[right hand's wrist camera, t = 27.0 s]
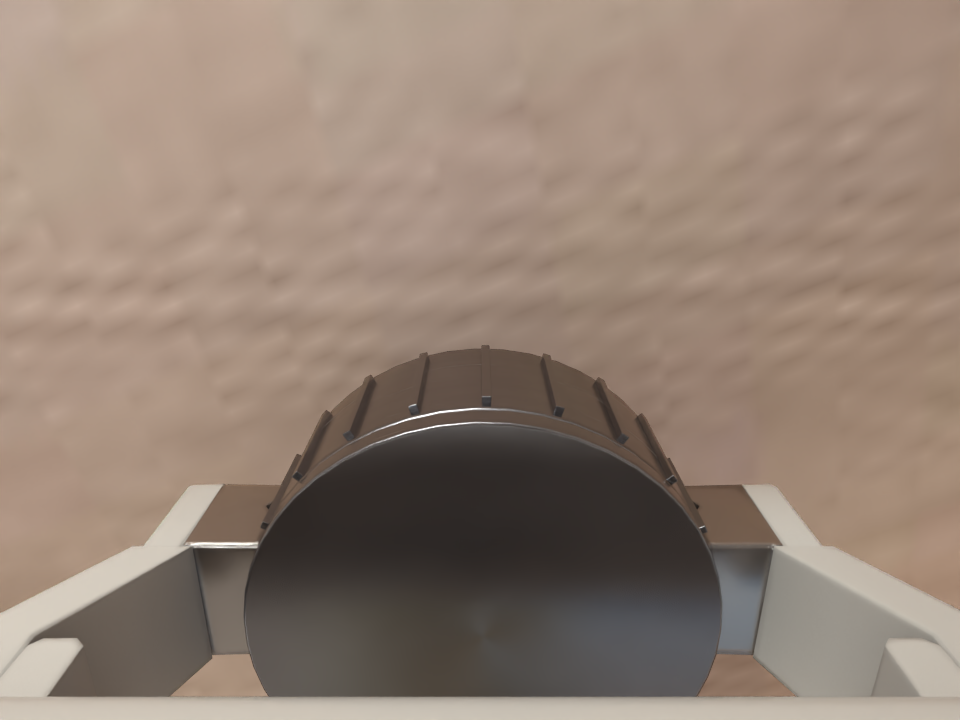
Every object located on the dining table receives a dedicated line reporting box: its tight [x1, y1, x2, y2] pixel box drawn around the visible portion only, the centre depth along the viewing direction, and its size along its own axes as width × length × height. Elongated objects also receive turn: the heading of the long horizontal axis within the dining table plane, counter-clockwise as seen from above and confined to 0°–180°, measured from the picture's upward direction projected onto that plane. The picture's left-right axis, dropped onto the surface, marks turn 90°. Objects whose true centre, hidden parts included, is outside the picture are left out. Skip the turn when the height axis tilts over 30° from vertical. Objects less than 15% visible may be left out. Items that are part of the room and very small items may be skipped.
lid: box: [243, 345, 723, 697], centre depth 9 cm, size 6×6×2 cm
